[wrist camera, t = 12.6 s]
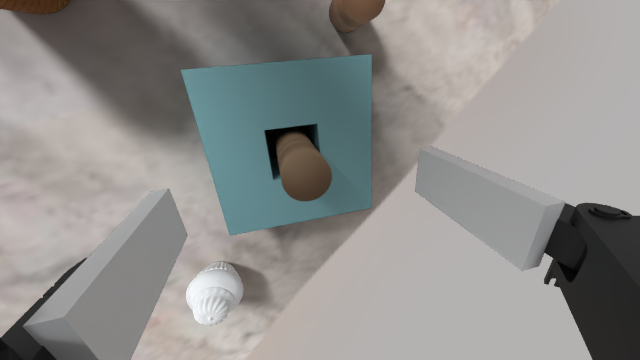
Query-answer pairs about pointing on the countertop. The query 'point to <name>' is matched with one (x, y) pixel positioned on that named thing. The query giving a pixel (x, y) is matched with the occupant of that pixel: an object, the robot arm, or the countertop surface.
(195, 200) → the countertop surface
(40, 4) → the disposable coffee cup
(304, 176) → the tall pin
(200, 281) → the white ribbed jar
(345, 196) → the hole block
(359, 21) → the short pin
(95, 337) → the robot arm
